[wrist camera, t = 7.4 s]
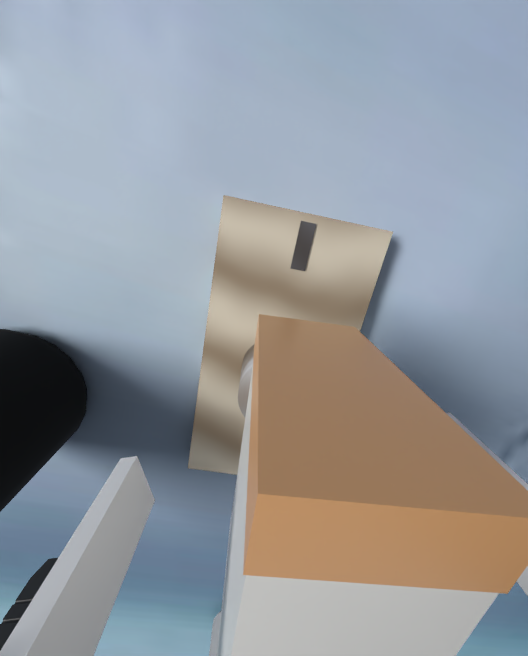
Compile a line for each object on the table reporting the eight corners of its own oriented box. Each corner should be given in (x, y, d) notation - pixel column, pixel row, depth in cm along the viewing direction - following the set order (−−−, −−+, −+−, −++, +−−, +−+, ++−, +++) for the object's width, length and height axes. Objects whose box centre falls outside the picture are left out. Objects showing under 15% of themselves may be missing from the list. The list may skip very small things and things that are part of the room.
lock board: (226, 198, 18) (212, 182, 12) (382, 232, 18) (431, 230, 13) (191, 454, 25) (173, 513, 19) (306, 470, 25) (318, 530, 20)
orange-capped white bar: (234, 473, 18) (198, 821, 7) (258, 297, 14) (258, 493, 3) (294, 478, 18) (343, 823, 7) (334, 307, 14) (558, 520, 4)
